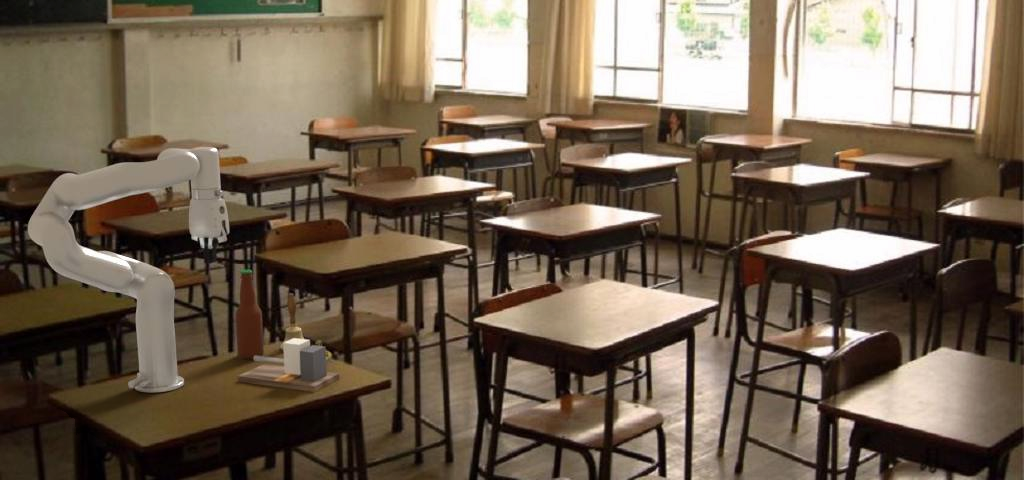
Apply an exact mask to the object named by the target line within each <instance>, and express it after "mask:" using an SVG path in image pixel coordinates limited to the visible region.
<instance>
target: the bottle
mask: <svg viewBox="0 0 1024 480" xmlns="http://www.w3.org/2000/svg"><path fill="white" fill-rule="evenodd" d="M239 273H240V279H241V280H240V281H241V282H240V286H239V287H240V288H239V305H238V307H237V309H236V311H235V315H234V316H235V327H236V329H235V330H236V331H235V332H236V346H237V349H236V351H237V356H238V357H239V359H242V360H254V356H255V355H256V356H264V354H265V348H264V332H263V331H264V328H263V314H262V313H263V312H262V309H261V307H259V305H258V304H257V300H256V299H257V297H256V289H255V286H254V282H253V274H252V273H253V271H252V270H251V269H242V270H241V271H240V272H239Z"/></svg>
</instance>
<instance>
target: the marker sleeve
mask: <svg viewBox="0 0 1024 480" xmlns="http://www.w3.org/2000/svg"><path fill="white" fill-rule="evenodd" d="M283 342H284V341H283ZM283 342H282V344H283V359H284V364H283V366H284V370H285V373H289V374H297V375H301V365H300V351H301V350H303V349H305V348H307V347H310V346H311V340H310V339H306V338H304V339H297V338H293V339H291V340H289V341H286V342H284V343H283Z"/></svg>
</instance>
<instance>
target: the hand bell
mask: <svg viewBox="0 0 1024 480" xmlns="http://www.w3.org/2000/svg"><path fill="white" fill-rule="evenodd" d="M286 303H287V304H286V305H287V311H288V313H289V324H290V327H288V328H286V329H285V337H284V341H282V343H281V344H280V347H279V349H281V350H283V343H284V342H286V341H289V340H291V339H293V338H297V339H305V338H304V336H303V331H302V328H301V327H298V326H297V320H296V312H297V301H296V297H295V296H294V293H291V292H290V293H288V297H287V302H286ZM283 351H284V350H283Z"/></svg>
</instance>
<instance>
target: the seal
mask: <svg viewBox="0 0 1024 480" xmlns="http://www.w3.org/2000/svg"><path fill="white" fill-rule="evenodd" d="M314 345H316V346H323V343H322V340H321V339H319V340H316V341H315V344H314ZM332 359H333V354H332V352H330V351H329V350H327V349H326V364H327V363H329V362H330V361H332ZM329 360H330V361H329Z"/></svg>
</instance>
